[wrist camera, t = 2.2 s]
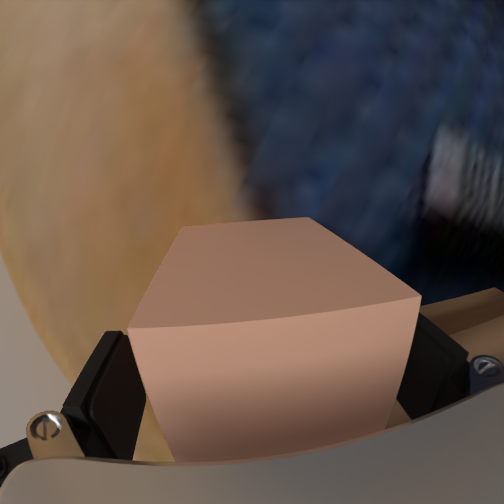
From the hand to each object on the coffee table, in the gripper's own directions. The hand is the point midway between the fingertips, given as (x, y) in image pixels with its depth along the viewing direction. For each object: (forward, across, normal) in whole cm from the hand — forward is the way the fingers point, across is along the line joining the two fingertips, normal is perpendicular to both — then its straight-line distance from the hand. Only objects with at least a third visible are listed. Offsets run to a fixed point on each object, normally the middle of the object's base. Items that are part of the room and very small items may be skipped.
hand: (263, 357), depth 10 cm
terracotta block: (+5, 0, -1) cm, 5 cm away
